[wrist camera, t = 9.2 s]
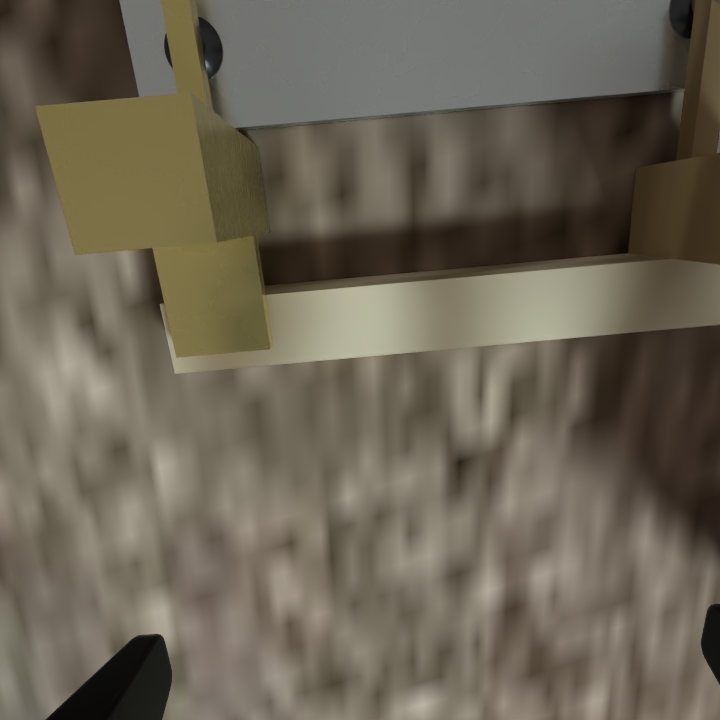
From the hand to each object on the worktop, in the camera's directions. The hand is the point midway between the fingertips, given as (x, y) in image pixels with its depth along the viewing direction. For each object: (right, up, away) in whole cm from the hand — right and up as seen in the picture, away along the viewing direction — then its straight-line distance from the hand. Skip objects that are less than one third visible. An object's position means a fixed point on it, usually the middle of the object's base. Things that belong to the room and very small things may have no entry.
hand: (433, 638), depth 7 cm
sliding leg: (-6, +10, +8) cm, 15 cm away
